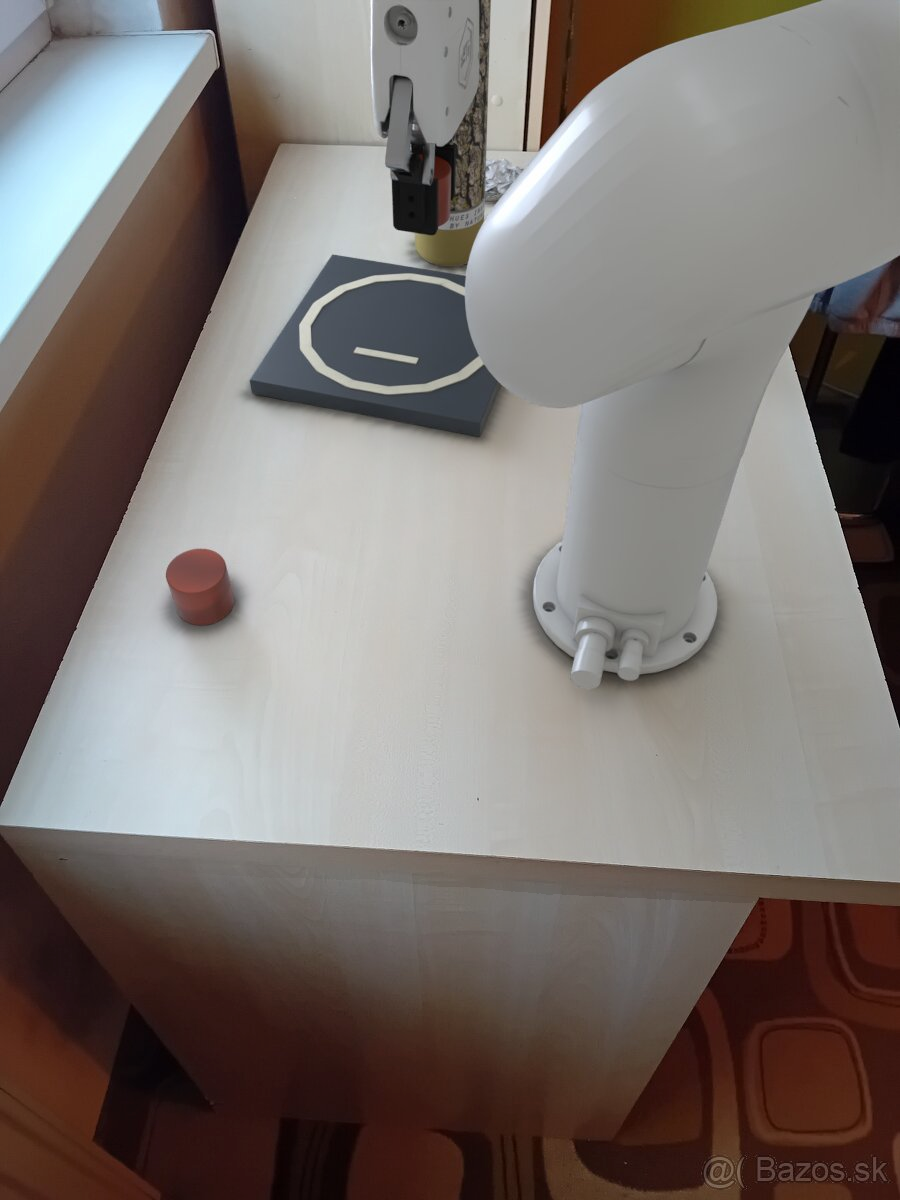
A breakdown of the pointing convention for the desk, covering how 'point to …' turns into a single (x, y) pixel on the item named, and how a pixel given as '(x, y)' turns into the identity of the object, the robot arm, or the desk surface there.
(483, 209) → the paper tube
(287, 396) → the face board
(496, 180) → the crumpled aluminium foil
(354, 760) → the desk surface
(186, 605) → the eye disc
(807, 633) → the desk surface
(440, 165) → the eye disc
